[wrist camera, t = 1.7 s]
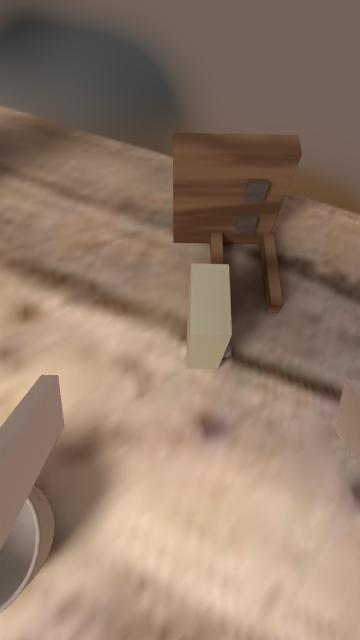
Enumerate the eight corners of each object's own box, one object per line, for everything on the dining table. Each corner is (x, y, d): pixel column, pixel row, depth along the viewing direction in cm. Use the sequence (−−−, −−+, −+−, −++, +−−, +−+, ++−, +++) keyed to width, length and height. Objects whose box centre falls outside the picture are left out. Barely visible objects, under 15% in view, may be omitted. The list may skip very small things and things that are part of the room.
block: (226, 369, 44) (243, 335, 33) (186, 368, 44) (190, 333, 33) (224, 313, 47) (239, 264, 36) (187, 312, 47) (191, 263, 36)
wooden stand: (277, 313, 47) (323, 241, 33) (172, 311, 47) (170, 238, 33) (267, 228, 53) (302, 135, 39) (173, 226, 53) (173, 133, 39)
